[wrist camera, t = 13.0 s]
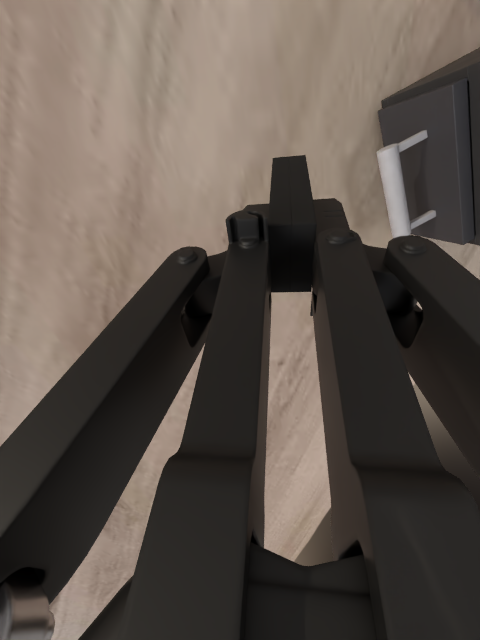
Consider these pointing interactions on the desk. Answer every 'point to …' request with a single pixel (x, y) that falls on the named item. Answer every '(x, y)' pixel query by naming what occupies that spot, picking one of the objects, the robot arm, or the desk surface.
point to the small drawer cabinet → (476, 69)
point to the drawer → (429, 164)
